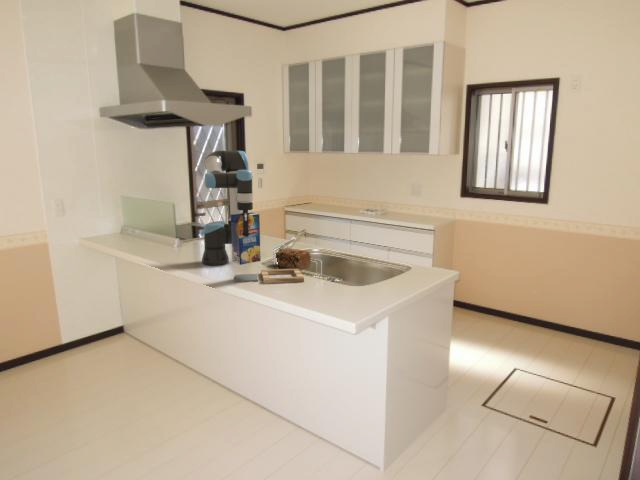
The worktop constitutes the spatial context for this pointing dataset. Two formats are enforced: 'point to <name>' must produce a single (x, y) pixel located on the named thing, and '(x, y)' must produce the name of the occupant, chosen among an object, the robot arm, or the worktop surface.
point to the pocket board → (296, 272)
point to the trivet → (246, 277)
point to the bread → (293, 258)
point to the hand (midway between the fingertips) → (245, 248)
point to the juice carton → (245, 239)
